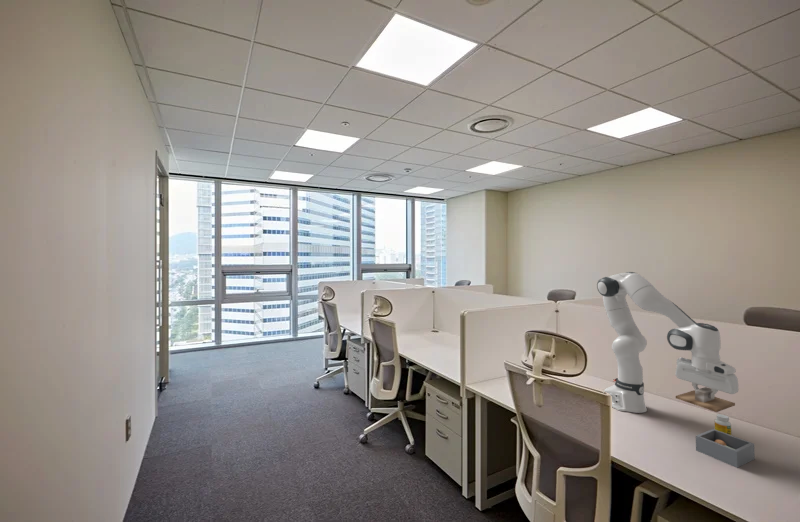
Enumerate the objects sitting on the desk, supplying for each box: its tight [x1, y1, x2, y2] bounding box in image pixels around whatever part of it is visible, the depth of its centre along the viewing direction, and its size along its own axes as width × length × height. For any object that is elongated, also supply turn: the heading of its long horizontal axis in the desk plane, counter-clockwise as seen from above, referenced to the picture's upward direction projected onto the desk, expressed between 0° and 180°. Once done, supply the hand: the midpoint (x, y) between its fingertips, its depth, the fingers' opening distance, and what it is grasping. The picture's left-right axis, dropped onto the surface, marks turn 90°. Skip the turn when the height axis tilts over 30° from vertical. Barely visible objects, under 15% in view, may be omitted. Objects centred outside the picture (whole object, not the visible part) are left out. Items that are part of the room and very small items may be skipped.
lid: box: [675, 386, 736, 413], centre depth 143 cm, size 14×14×5 cm
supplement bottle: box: [714, 413, 732, 435], centre depth 152 cm, size 5×5×10 cm
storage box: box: [695, 428, 756, 469], centre depth 138 cm, size 13×13×7 cm
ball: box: [714, 440, 727, 446], centre depth 141 cm, size 4×4×4 cm
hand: (704, 396), depth 143 cm, fingers closed on lid, 3 cm apart
